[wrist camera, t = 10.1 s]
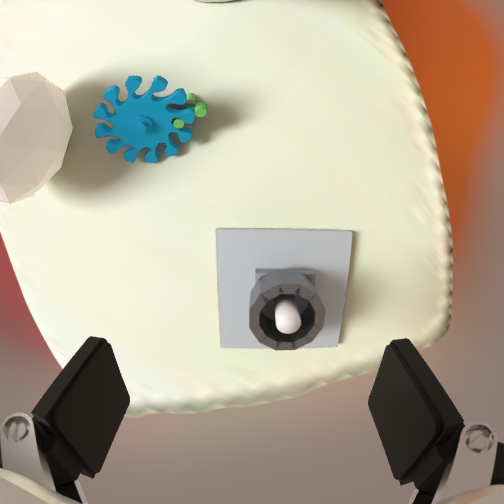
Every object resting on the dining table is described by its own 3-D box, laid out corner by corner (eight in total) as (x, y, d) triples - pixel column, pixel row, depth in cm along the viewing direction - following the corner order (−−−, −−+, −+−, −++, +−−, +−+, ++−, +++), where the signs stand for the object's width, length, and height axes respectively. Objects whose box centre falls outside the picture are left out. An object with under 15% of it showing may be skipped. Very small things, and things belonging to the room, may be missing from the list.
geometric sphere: (93, 134, 31) (98, 144, 20) (18, 205, 28) (-7, 254, 18) (45, 59, 21) (26, 30, 11) (-33, 136, 19) (-82, 153, 8)
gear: (107, 173, 26) (77, 95, 17) (118, 139, 29) (98, 68, 20) (209, 160, 27) (203, 71, 18) (209, 128, 30) (205, 50, 21)
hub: (250, 268, 27) (249, 283, 24) (319, 268, 27) (328, 284, 23) (250, 328, 29) (249, 350, 25) (313, 328, 29) (320, 349, 25)
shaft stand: (217, 228, 29) (204, 244, 22) (349, 230, 29) (374, 246, 22) (221, 342, 33) (213, 380, 26) (335, 342, 32) (350, 377, 26)
